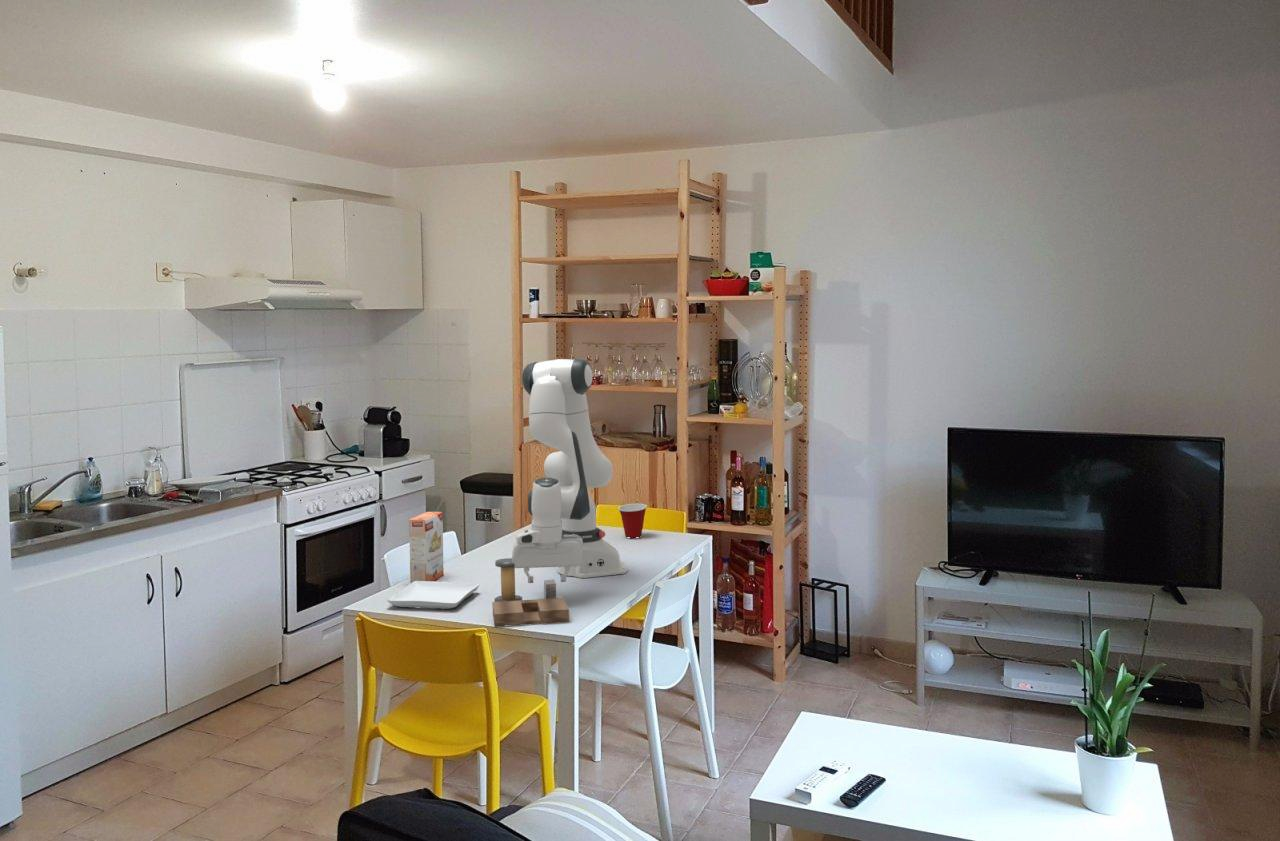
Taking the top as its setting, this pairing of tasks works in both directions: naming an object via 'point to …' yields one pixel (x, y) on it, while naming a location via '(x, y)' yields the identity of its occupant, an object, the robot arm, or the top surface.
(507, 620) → the notched board
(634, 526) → the plastic cup
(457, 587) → the salad plate
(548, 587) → the steel tab
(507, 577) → the bobbin
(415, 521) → the cracker box
